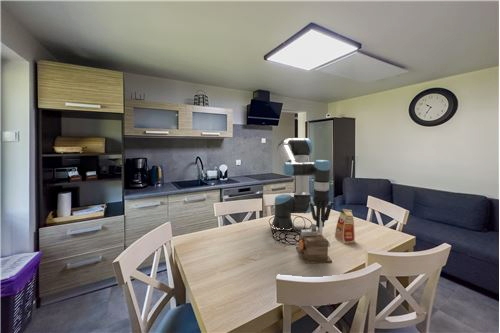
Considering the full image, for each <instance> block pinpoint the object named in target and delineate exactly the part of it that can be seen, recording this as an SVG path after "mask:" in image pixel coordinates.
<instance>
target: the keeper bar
mask: <svg viewBox="0 0 500 333" xmlns="http://www.w3.org/2000/svg"><path fill="white" fill-rule="evenodd" d="M317 230H318V229H317V226H316V223H315V224H314V223H312V224H311V229H301V230H300V232H301V235H302V236H317V235H318V231H317Z"/></svg>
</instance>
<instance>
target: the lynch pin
mask: <svg viewBox="0 0 500 333" xmlns="http://www.w3.org/2000/svg"><path fill="white" fill-rule="evenodd" d="M330 245H331V244H330V241H329V240H328V248H330V247H331V246H330ZM298 247H299V248H300V250H304V248H305V242H304V241H303V240H300V239H299V240H298Z"/></svg>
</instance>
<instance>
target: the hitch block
mask: <svg viewBox="0 0 500 333" xmlns="http://www.w3.org/2000/svg"><path fill="white" fill-rule="evenodd" d="M316 230H317V231H318V229H316ZM299 236H300V237H299V240H303V241H304V242H305V248H304V250H300V248H299V246H295V249H296V251H297V252H298V254H299V256H300V258H301V260H302V261H303V263H304V264H307V265H309V264H333V260H332V259H331V257H329V255H328V254H329V247H328V241H329V240H328V239H327V238H326V237H325V236H324V235H323V233H322V234H319V233H318V235H317V236H302V235H301V231H300V234H299Z"/></svg>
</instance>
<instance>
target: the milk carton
mask: <svg viewBox="0 0 500 333" xmlns="http://www.w3.org/2000/svg"><path fill="white" fill-rule="evenodd" d="M352 211H353V210H352V209H346V208H342V211H340V212H339V216H338V219H337V224H336V227H335V232H334V238H335V239H337V241H338V242H339V241H340V243H342V244H349V242H350V243H354V242H356V240H355V239H356V232H355V221H354V215H353V212H352Z"/></svg>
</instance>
